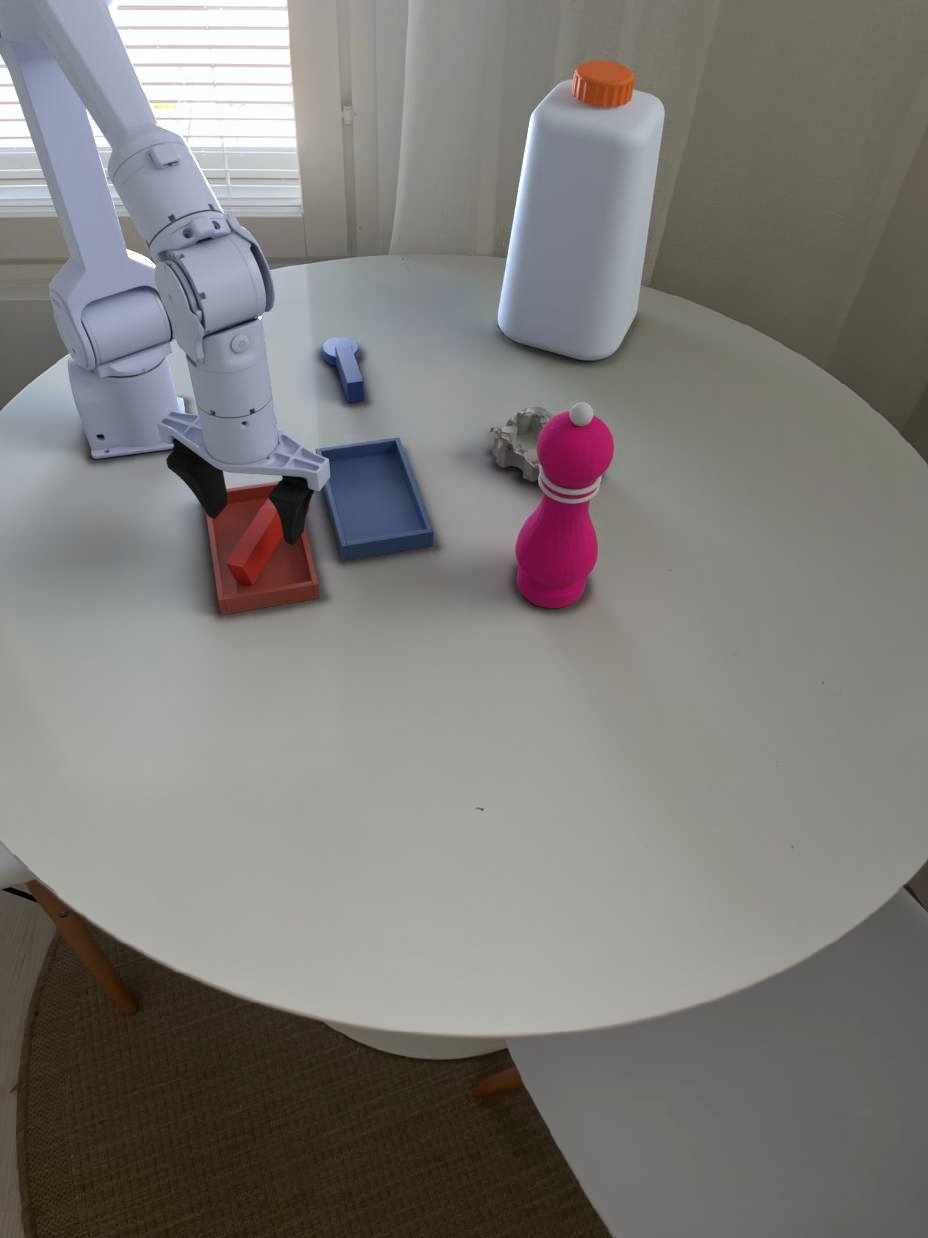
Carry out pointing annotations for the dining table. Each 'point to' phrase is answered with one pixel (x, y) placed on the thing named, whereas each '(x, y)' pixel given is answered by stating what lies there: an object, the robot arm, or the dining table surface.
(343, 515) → the blue tray
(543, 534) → the pepper mill
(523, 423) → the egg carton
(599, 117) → the plastic bottle
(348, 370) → the blue spoon
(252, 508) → the red tray
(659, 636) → the dining table surface
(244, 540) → the red spoon
